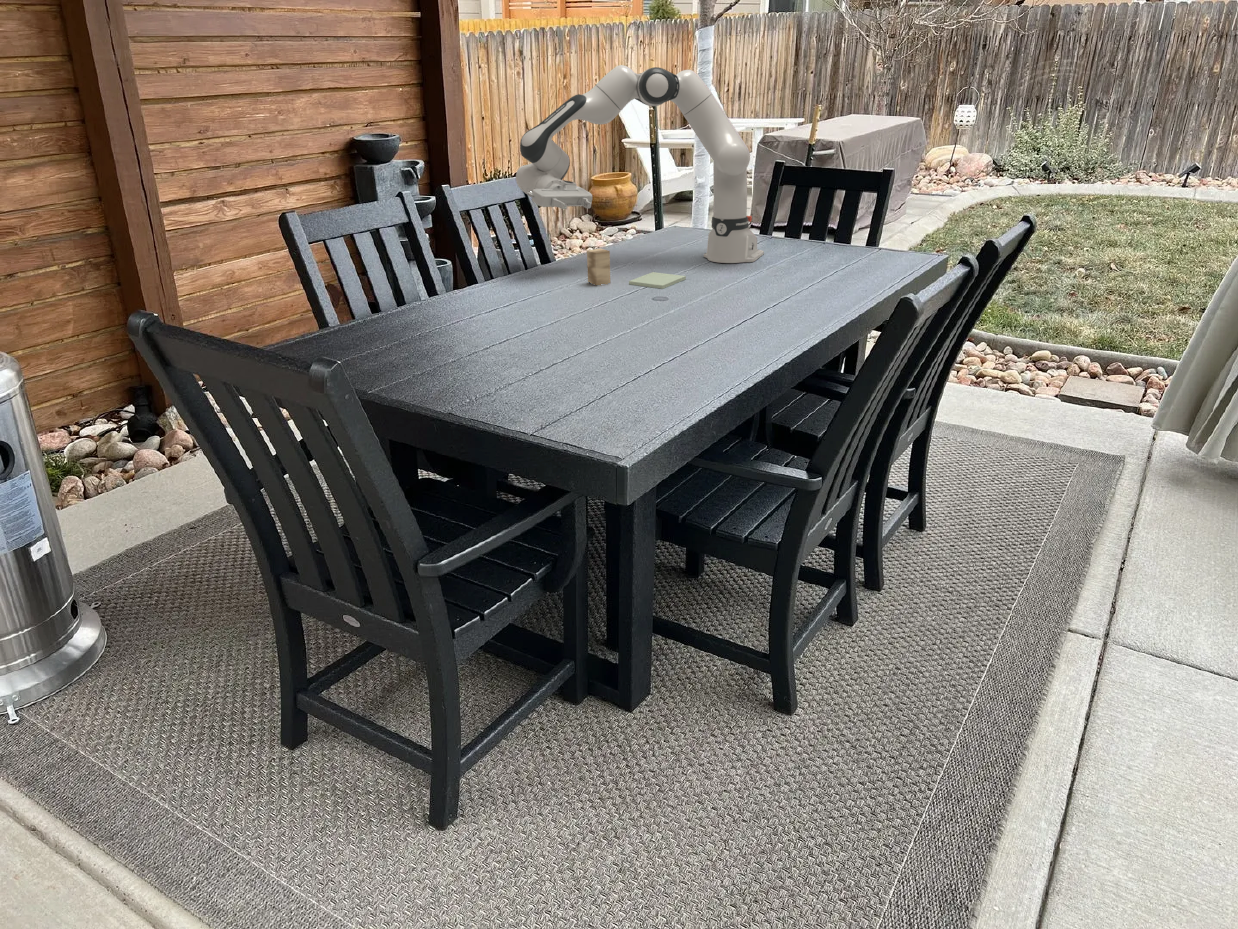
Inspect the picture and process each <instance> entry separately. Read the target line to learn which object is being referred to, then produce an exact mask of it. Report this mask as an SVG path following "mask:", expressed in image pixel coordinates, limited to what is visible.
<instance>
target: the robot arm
mask: <svg viewBox="0 0 1238 929" xmlns="http://www.w3.org/2000/svg"><path fill="white" fill-rule="evenodd" d="M633 100H636V101H638V102H640V103H642V104H643V105H646V106H649V107H658V106H660V105H663V104H664V103H666V102H669V101H670V102H672V103H674V104H675V105H676V106H677V108H678V109H679V111H680V113H681V114H682V115H683V117H684V119H685V120H686V121H687V123H688V125H689V126H690V127H691V129H692V131H693V132H694V134H695V135H696V137H697V138H698V140H699V141H700V143H701V144H702V146H703V147H704V149H705V150H706V151H707V154H708V155H709V156H710V158H711V159H712V161H713V164H712V166H713V172H712V173H713V175H712V176H713V203H712V204H713V208H712V209H713V211H712V212H713V214H712V217H711V228H712V229H711V231H709V233H708V235H707V236H708V237H707V245H706V246H707V247H706V252H705V253H703V257H704V258H706V259H707V260H708V261H709V262H714V263H718V264H719V263H722V264H739V263H754V262H756V261H757V260H758V259H759V258H760V257H762V256H763V255H764V254H765V251H764V250H762V249H758V237H757V236H756V234H754V232H753V231H752V230H751V229H750V228H749V227H750V223H752V219H753V217H752V215H747V209H748V173H747V172H748V166H749V165H750V161H751V153H750V149H749V148H748V146H747V144H746V142H745V141H744V140H743V138H742V137H741V135H740V134H739V132H738V131H737V129H736V128H735V126H734V125H733V123H732V122H731V120H730V119H729V117H728V116H727V114H726V113H725V111H724V110H723V108H722V107H721V104H720V103H719V102H718V100H717V99H716V97H715V96H714V93H713V92H712V91H711V89H710V88H709V87H708V86H707V84H706V82H705V81H704V80H703V79H702V78H701V77H700V76H699V75H698V74H697V73H696V72H695V71H693V69H683V70H681V71H679V72H678V73H676V74H675V73H673V72H671V71H669V70H667V69H664V68H663V67H651V68H647V69H646V70H644V71H642V72H640V73H636V72H635V71H634V70H633V69H632V68H631V67H629V66H626V65H624V64H618V65H616V66H615V67H614V68H612V69H611V70H610V71H608V72H607V73H606V74H605V75H604V76H602V78H601V79H600V80H599V81H598V82H597V83H596V84H595V85H594V86H593V87H592V88H591V89H590V90H589V91H587V92H585V93H582V94H579V93H578V94H575V95H573V96H571V97H570V98H569V99H567V100H566V101H564V102H563V103H562V104H561V105H560V106H558V108H556V109H555V110H553V111H552V112H551V113H550V114H549V115H548V116H547V117H546V118H544V119H543V120H542V121H541V122H540V123H538V124H537V125H536V126H534V127H532V128H530V129H528V130H527V131H526V132H525V133H524V134H523V135H522V136H521V139H520V143H519V151H520V155H521V156H522V158H523V159H525V160H527V161H528V162H529V164H525V165H521V166H520V167H519V168H518V169H517V170H516V173H515V181H516V184H517V186H518V188H519V189H520V190H521V191H522V192H523V193H524V194H526V195H527V196H528V197H531V201H532V202H533V203H534V204H536V205H537V206H539V207H540V208H541V207H542V208H559V209H561V210H567V208H568V207H583V208H585V209H591V208H592V202H593V194H592V193H591V192H590V191H588V190H586V189H585V188H583V187H580V186H579V185H577V183H576V182H574V181H570V180H564V178H565V177H566V175H567V174H568V173H569V172H568V171H569V168H570V166H571V165H570V163H571V159H570V157H569V155H568V153H567V152H566V151H564V150H563V149H562V147H560V146H559V145H558V144H557V143H556V142H555V141H554V140H553V137H554V136H555V135H556V134H558V133H559V132H560V131H562V129H564V127H566V126H567V125H568V124H569V123H571V122H573V121H575V120H580V121H586V122H588V123H591V124H594V125H607V124H609V123H610V122H612V121H613V120H614V119H615V118H616V117H617V116H618V115H619V114H621V111H623V109H624V108H625V107H626V106H627V105H628V104H629V103H630V102H631V101H633Z"/></svg>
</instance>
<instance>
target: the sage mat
mask: <svg viewBox="0 0 1238 929" xmlns="http://www.w3.org/2000/svg"><path fill="white" fill-rule="evenodd" d="M686 278H687V276H686V275H682V274H671V273H663V272H654V271H652V272H650V273H647V274H644V275H641V276H639V277H636V278H633V279H631V280H629V281H628V285H631V286H638V287H646V288H654V289H661V290H663V289H666V288H668V287H670V286H673V285H675V284H678V283H680V282H682V281H685V280H686Z"/></svg>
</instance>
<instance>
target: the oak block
mask: <svg viewBox="0 0 1238 929" xmlns="http://www.w3.org/2000/svg"><path fill="white" fill-rule="evenodd" d="M586 263H587V264H586V265H587V266H586V267H587V283H588V282H590V283H592V284H595V285H600V286H602V285H601V284H605V285H609V284H608V283H610V284H611V251H610V250H608V249H604V248H595V249H589V250H588V249H587V250H586ZM592 284H591V285H592ZM595 285H594V286H595Z"/></svg>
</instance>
